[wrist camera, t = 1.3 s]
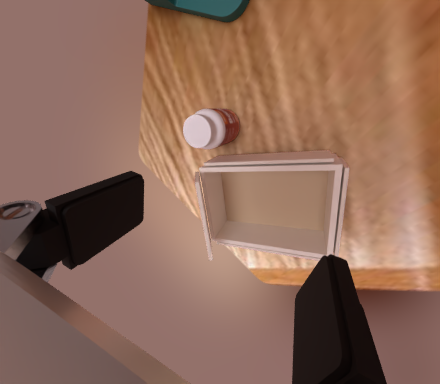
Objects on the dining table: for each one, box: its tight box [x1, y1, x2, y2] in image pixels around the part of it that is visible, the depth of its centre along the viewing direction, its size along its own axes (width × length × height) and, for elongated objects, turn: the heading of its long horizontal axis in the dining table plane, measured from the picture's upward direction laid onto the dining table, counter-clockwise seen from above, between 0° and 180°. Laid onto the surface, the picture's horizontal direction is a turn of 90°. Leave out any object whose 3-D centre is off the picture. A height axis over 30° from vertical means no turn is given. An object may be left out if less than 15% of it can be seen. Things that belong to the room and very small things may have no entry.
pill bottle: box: [183, 109, 240, 149], centre depth 31 cm, size 6×6×11 cm
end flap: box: [195, 172, 213, 260], centre depth 32 cm, size 1×14×6 cm, turn 7°
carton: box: [199, 150, 349, 261], centre depth 34 cm, size 22×17×8 cm
